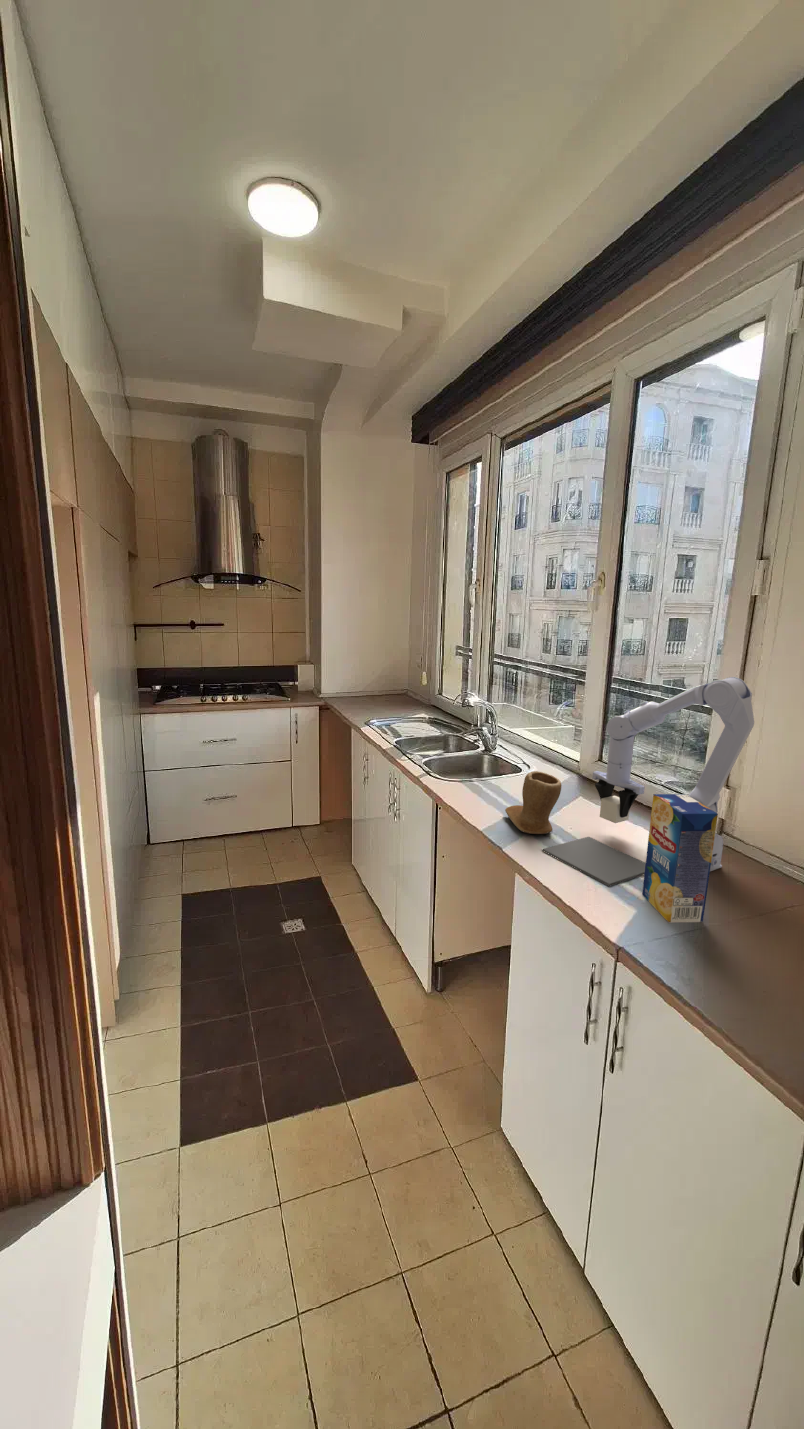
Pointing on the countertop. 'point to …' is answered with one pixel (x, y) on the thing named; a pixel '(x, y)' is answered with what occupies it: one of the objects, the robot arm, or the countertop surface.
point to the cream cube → (611, 809)
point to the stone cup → (536, 803)
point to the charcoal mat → (598, 860)
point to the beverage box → (679, 857)
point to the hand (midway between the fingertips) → (614, 813)
